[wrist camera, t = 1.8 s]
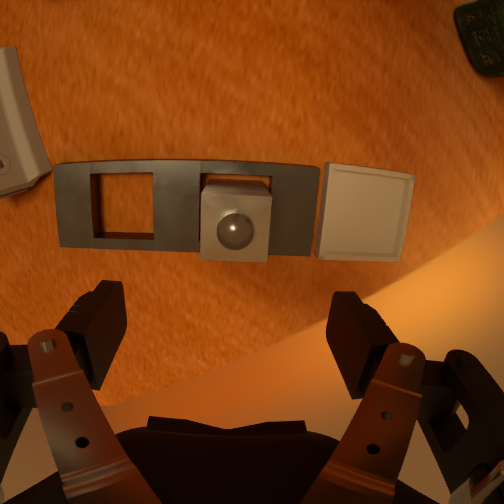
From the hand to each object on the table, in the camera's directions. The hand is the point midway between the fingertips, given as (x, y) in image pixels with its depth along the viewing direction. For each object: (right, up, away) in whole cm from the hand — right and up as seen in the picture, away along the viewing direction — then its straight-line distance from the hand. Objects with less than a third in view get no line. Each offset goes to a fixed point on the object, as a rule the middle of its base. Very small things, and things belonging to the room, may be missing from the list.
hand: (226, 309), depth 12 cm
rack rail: (-6, +7, +17) cm, 19 cm away
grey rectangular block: (-1, +6, +17) cm, 18 cm away
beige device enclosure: (-25, +16, +12) cm, 32 cm away
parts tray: (+12, +6, +18) cm, 22 cm away
